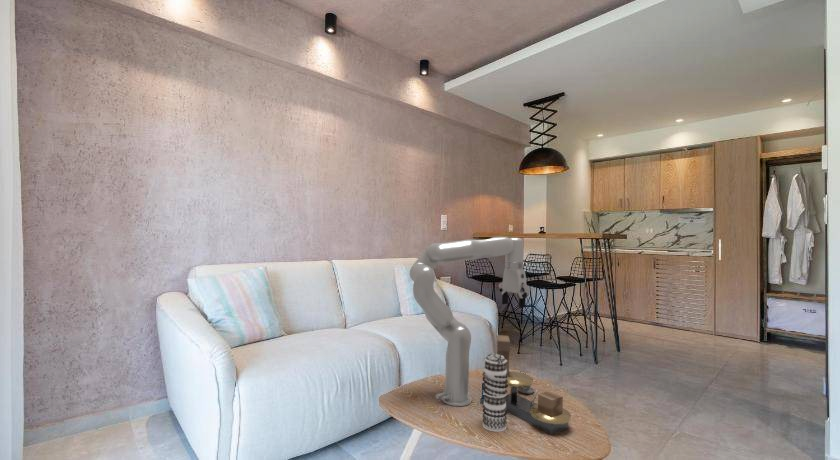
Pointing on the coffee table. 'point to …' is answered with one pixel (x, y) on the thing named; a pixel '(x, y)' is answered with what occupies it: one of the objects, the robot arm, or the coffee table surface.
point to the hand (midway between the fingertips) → (513, 305)
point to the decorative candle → (495, 393)
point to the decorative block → (504, 348)
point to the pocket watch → (526, 388)
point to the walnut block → (550, 404)
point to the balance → (532, 406)
